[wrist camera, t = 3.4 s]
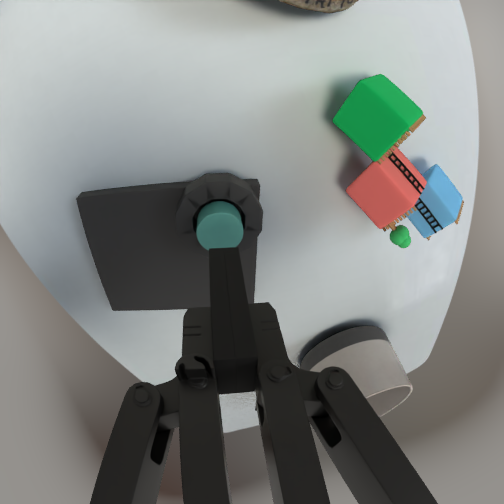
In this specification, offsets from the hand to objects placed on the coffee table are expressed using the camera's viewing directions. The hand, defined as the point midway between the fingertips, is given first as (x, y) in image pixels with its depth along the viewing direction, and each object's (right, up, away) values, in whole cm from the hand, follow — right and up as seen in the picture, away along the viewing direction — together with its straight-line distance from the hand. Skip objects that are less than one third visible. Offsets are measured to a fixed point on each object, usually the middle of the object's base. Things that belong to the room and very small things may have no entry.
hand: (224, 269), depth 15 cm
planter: (+14, -12, +21) cm, 28 cm away
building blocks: (+13, +10, +5) cm, 17 cm away
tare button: (-1, +3, +4) cm, 5 cm away
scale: (-5, +1, +8) cm, 10 cm away
